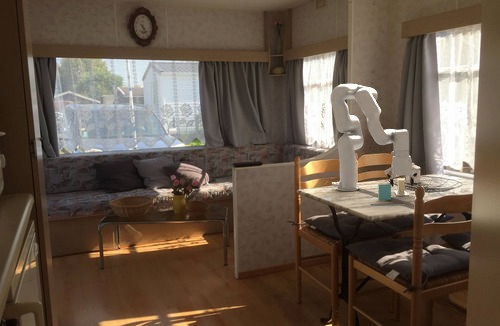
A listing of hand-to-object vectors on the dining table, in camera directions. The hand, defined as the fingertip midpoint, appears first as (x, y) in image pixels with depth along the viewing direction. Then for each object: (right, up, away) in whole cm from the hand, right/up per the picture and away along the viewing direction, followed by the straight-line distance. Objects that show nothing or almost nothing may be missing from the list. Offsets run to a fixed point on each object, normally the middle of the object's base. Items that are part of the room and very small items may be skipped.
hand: (401, 185), depth 226 cm
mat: (-12, -8, -12) cm, 19 cm away
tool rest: (0, -5, +1) cm, 5 cm away
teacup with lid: (+17, 0, +31) cm, 36 cm away
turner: (0, -4, +1) cm, 5 cm away
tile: (-12, -7, -8) cm, 16 cm away
